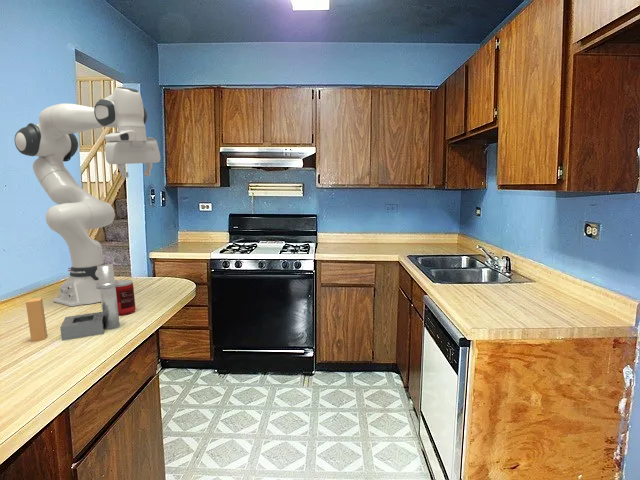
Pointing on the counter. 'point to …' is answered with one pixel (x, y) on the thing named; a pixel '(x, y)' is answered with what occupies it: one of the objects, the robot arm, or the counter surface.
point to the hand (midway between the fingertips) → (136, 176)
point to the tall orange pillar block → (36, 319)
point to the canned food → (125, 297)
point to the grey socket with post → (99, 320)
